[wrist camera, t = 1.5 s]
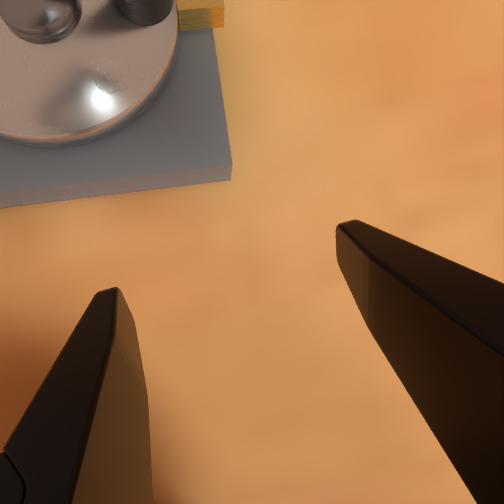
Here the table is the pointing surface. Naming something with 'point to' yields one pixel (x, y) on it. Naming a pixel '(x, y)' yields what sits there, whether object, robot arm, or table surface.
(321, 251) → the table surface
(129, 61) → the grey round part
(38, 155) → the post base
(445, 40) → the table surface
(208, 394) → the table surface
